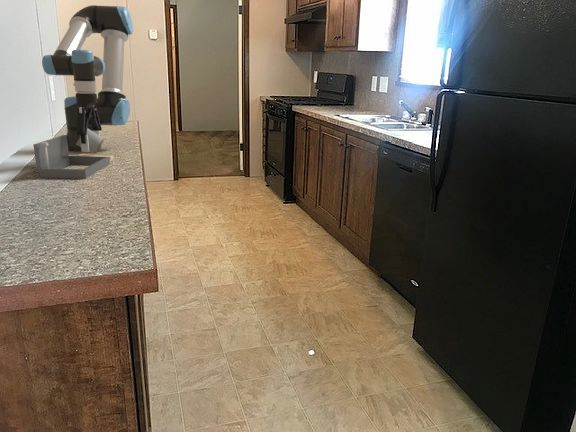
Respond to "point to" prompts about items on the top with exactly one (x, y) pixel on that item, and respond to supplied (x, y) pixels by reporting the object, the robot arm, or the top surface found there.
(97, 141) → the ceramic mug
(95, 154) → the beige square panel
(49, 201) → the top surface
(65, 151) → the case
